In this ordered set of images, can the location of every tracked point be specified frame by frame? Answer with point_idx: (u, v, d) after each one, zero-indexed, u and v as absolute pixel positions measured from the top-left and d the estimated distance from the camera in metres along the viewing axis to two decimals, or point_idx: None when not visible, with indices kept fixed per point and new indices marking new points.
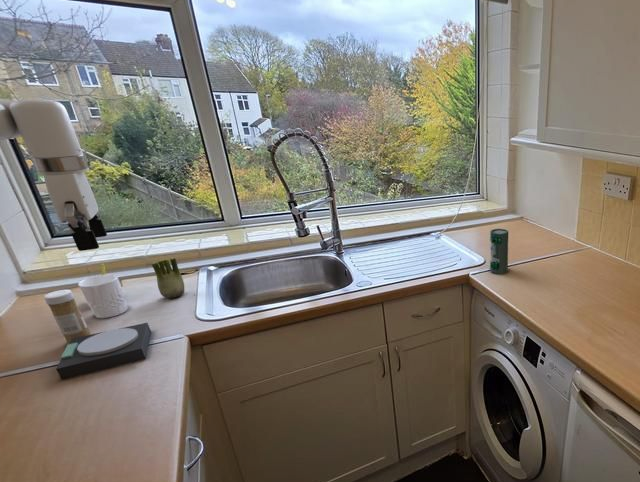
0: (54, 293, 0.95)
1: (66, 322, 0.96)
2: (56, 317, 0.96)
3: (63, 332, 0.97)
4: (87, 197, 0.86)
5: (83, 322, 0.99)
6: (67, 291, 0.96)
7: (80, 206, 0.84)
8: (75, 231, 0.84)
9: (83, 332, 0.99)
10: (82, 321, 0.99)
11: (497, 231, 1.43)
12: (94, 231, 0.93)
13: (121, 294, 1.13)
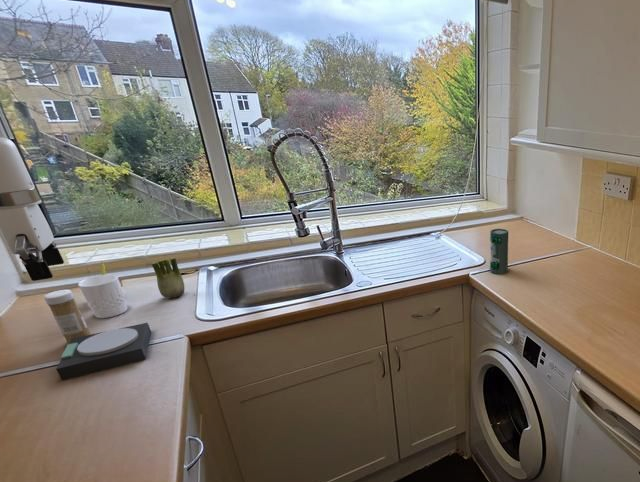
0: (54, 293, 0.95)
1: (66, 322, 0.96)
2: (56, 317, 0.96)
3: (63, 332, 0.97)
4: (39, 229, 0.89)
5: (83, 322, 0.99)
6: (67, 291, 0.96)
7: (32, 238, 0.87)
8: (27, 262, 0.86)
9: (83, 332, 0.99)
10: (82, 321, 0.99)
11: (497, 231, 1.43)
12: (51, 259, 0.96)
13: (121, 294, 1.13)
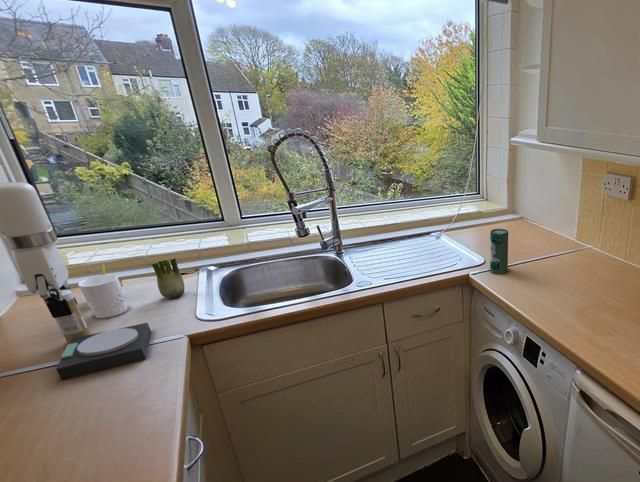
0: (54, 293, 0.95)
1: (66, 322, 0.96)
2: None
3: (63, 332, 0.97)
4: (56, 268, 0.92)
5: (83, 322, 0.99)
6: (67, 291, 0.96)
7: (49, 278, 0.90)
8: (49, 302, 0.92)
9: (83, 332, 0.99)
10: (82, 321, 0.99)
11: (497, 231, 1.43)
12: None
13: (121, 294, 1.13)
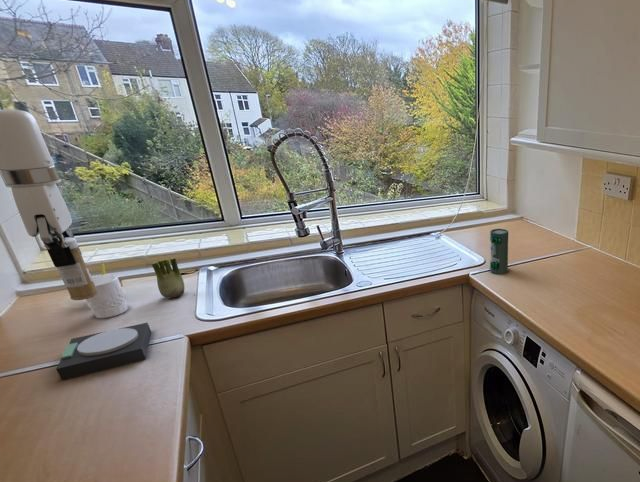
0: None
1: (70, 273, 0.87)
2: (59, 267, 0.86)
3: (66, 284, 0.88)
4: (59, 210, 0.83)
5: (88, 274, 0.90)
6: (71, 238, 0.87)
7: (51, 219, 0.81)
8: (51, 247, 0.83)
9: (88, 286, 0.90)
10: (87, 273, 0.90)
11: (497, 231, 1.43)
12: None
13: (121, 294, 1.13)
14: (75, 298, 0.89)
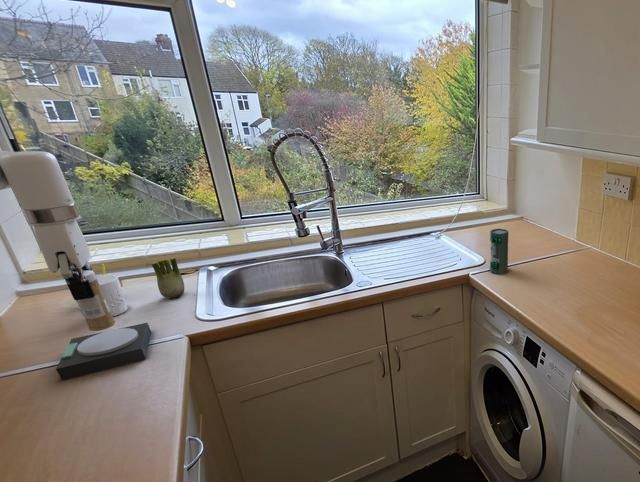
0: None
1: (88, 305, 0.89)
2: None
3: (85, 316, 0.90)
4: (78, 245, 0.85)
5: (106, 306, 0.92)
6: (89, 272, 0.89)
7: (71, 256, 0.83)
8: (71, 282, 0.85)
9: (105, 317, 0.92)
10: (105, 304, 0.92)
11: (497, 231, 1.43)
12: None
13: (121, 294, 1.13)
14: (93, 329, 0.92)
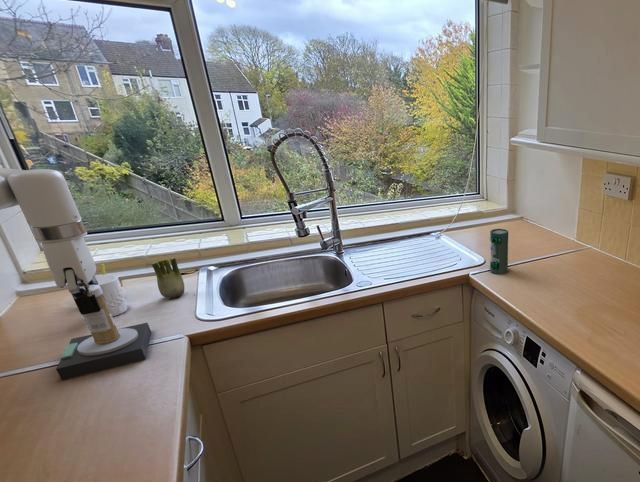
0: None
1: (94, 319, 0.91)
2: (84, 314, 0.90)
3: (91, 330, 0.92)
4: (85, 261, 0.86)
5: (111, 319, 0.94)
6: (96, 286, 0.91)
7: (78, 271, 0.85)
8: (78, 297, 0.86)
9: (111, 330, 0.94)
10: (110, 318, 0.94)
11: (497, 231, 1.43)
12: None
13: (121, 294, 1.13)
14: (99, 342, 0.93)
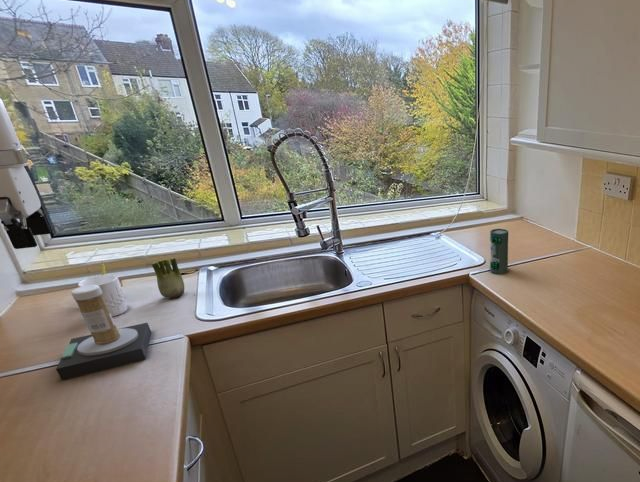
0: (82, 288, 0.90)
1: (94, 319, 0.91)
2: (84, 314, 0.90)
3: (91, 330, 0.92)
4: (25, 193, 0.82)
5: (111, 319, 0.94)
6: (95, 286, 0.91)
7: (16, 202, 0.80)
8: (9, 228, 0.80)
9: (111, 330, 0.94)
10: (110, 318, 0.94)
11: (497, 231, 1.43)
12: (37, 228, 0.89)
13: (121, 294, 1.13)
14: (99, 342, 0.93)
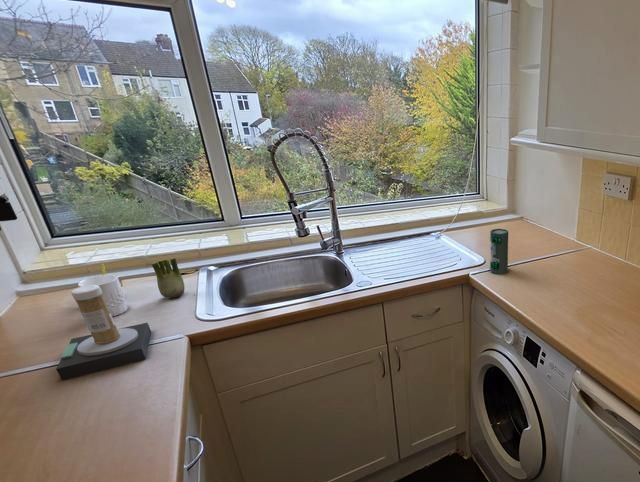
0: (82, 288, 0.90)
1: (94, 319, 0.91)
2: (84, 314, 0.90)
3: (91, 330, 0.92)
4: None
5: (111, 319, 0.94)
6: (95, 286, 0.91)
7: None
8: None
9: (111, 330, 0.94)
10: (110, 318, 0.94)
11: (497, 231, 1.43)
12: (2, 214, 0.90)
13: (121, 294, 1.13)
14: (99, 342, 0.93)
